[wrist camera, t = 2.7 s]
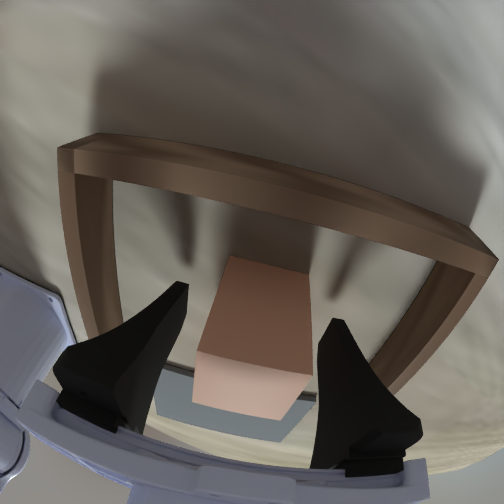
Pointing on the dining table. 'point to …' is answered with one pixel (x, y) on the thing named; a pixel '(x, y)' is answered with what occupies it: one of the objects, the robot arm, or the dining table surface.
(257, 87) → the dining table surface
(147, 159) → the open side frame
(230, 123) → the dining table surface
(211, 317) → the terracotta block
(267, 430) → the grey mat
